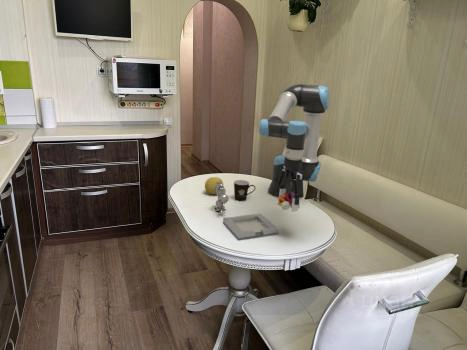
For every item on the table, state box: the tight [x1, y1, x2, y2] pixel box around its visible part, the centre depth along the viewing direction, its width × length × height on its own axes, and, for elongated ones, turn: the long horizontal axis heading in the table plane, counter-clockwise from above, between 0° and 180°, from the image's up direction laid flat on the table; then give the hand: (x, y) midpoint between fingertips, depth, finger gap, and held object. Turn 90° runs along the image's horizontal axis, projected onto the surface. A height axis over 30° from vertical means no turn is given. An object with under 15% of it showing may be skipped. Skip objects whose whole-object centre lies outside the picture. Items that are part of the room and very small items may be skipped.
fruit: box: [204, 176, 224, 196], centre depth 202 cm, size 10×11×10 cm
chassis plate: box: [222, 213, 280, 241], centre depth 162 cm, size 20×18×2 cm
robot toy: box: [215, 182, 229, 213], centre depth 177 cm, size 15×6×15 cm, turn 13°
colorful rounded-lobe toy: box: [277, 192, 300, 211], centre depth 155 cm, size 8×10×7 cm
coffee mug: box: [233, 179, 256, 202], centre depth 196 cm, size 12×9×10 cm
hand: (287, 206), depth 156 cm, fingers closed on colorful rounded-lobe toy, 10 cm apart
